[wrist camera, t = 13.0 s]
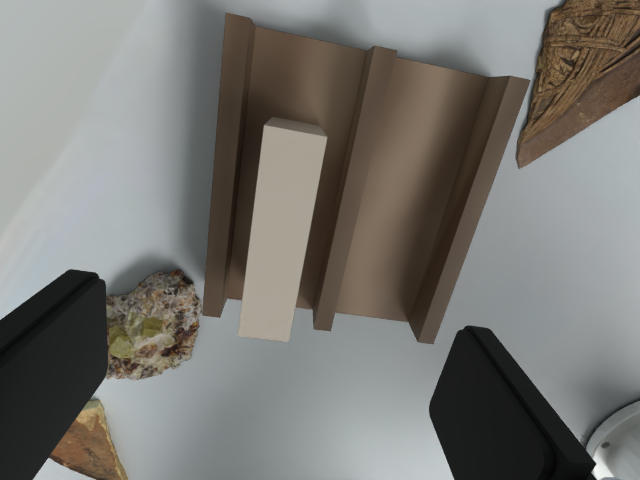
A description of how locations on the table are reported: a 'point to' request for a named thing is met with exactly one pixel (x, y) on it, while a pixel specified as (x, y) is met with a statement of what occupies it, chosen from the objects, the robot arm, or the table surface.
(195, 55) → the table surface
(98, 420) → the shard
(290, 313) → the strip
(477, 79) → the walnut rack
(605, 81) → the wooden fragment
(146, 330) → the mineral rock
